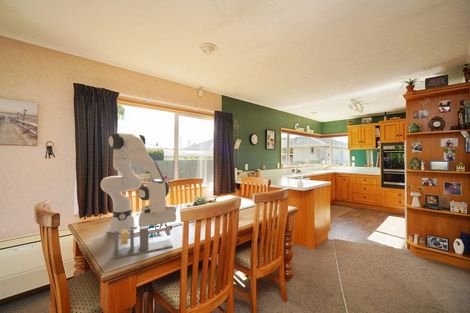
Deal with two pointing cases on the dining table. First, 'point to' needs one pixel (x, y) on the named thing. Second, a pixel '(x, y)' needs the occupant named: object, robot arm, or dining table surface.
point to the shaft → (152, 231)
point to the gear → (151, 228)
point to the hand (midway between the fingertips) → (158, 231)
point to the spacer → (124, 236)
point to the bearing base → (141, 248)
